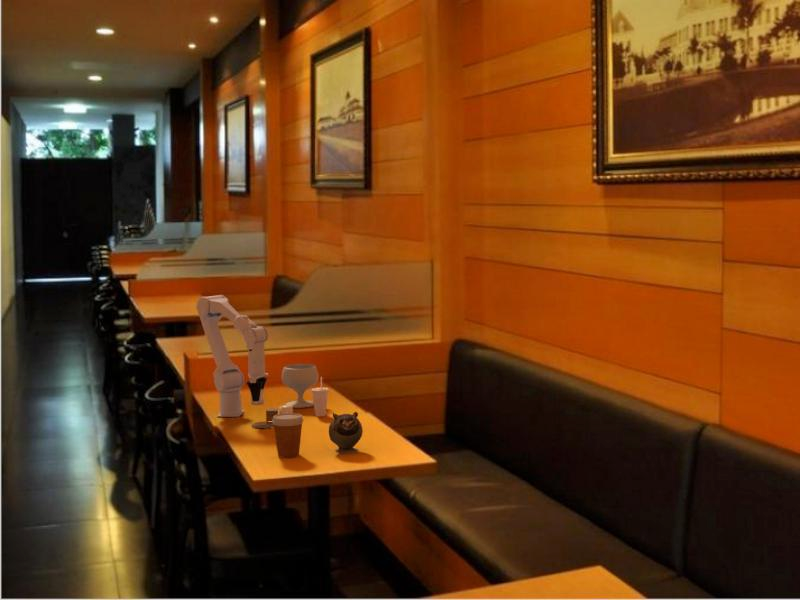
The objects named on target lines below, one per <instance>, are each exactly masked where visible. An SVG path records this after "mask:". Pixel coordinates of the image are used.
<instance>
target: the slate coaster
mask: <svg viewBox="0 0 800 600" xmlns="http://www.w3.org/2000/svg"><path fill="white" fill-rule="evenodd" d="M251 427H252V428H253V427H255V428H254V429H257V428H268V429H272V428H271V427H274V424H273V422H268V421H258V422H254V423H252V424H251Z"/></svg>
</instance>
